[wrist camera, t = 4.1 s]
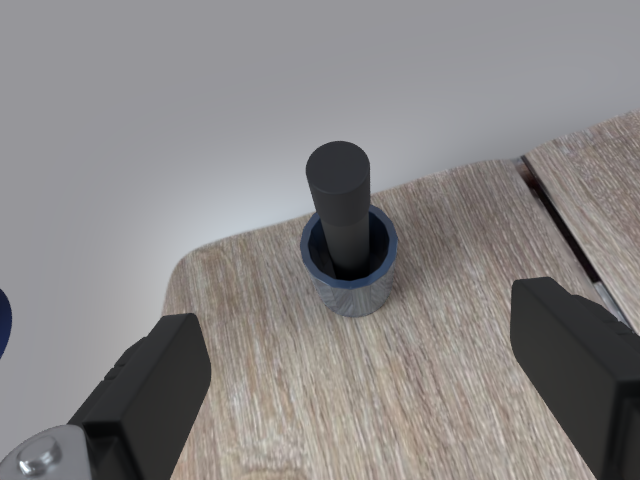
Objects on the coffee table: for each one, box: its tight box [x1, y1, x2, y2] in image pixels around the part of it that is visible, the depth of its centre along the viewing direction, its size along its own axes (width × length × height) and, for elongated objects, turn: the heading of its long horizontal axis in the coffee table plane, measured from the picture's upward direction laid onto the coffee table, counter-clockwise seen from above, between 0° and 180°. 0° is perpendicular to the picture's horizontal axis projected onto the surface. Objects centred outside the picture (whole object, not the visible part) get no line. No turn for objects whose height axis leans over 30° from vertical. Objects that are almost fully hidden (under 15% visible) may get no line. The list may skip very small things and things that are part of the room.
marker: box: [306, 141, 370, 281], centre depth 22 cm, size 3×3×14 cm
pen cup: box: [300, 204, 398, 317], centre depth 26 cm, size 6×6×7 cm
